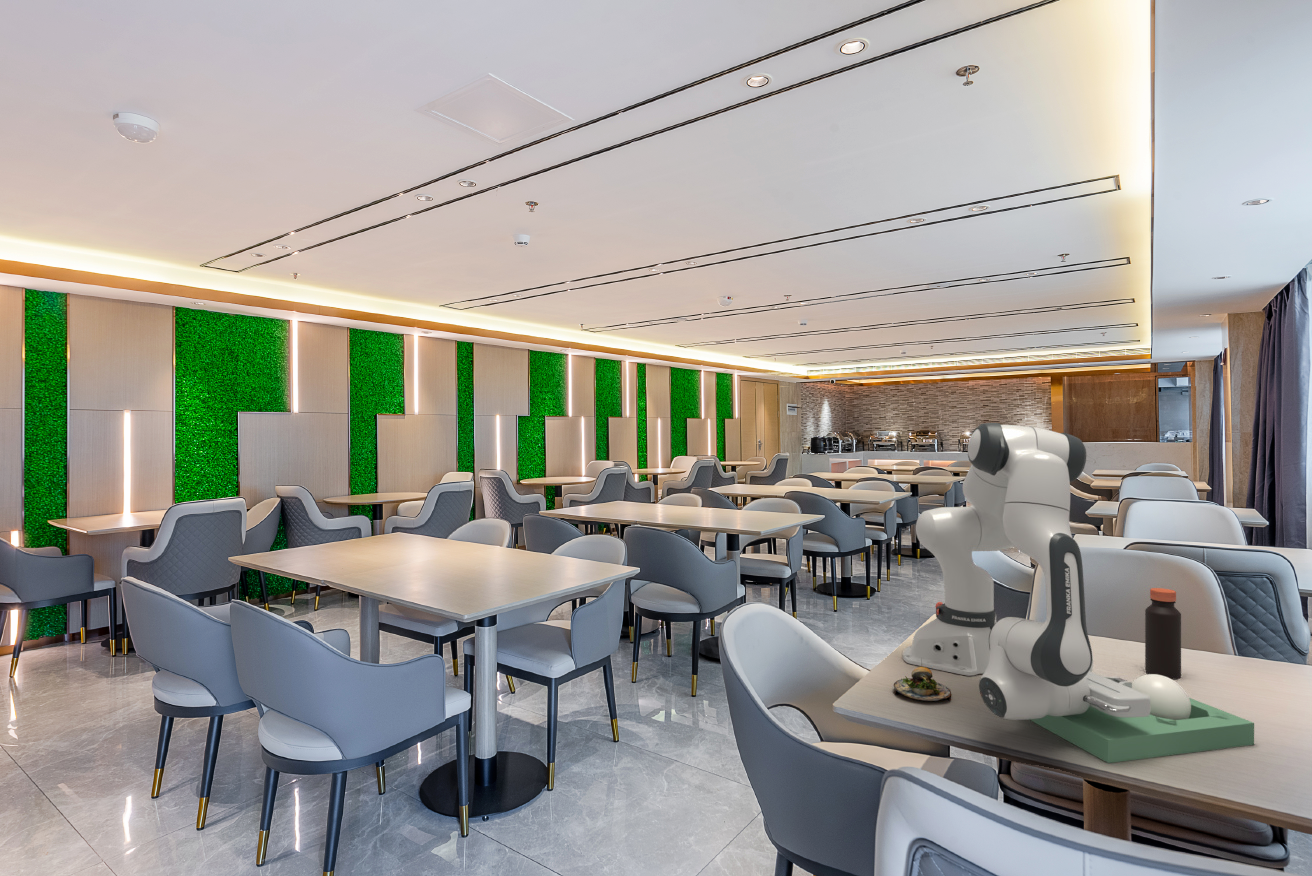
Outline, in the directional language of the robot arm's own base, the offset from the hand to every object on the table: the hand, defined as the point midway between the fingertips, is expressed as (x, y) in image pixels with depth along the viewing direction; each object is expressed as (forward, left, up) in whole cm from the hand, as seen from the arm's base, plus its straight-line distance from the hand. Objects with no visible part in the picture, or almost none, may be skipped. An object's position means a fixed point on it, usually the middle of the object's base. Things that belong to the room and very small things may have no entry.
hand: (1125, 683), depth 129 cm
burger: (-37, +1, -10) cm, 38 cm away
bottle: (+12, +40, -9) cm, 43 cm away
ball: (+6, +5, -4) cm, 9 cm away
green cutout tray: (+1, +1, -9) cm, 9 cm away
